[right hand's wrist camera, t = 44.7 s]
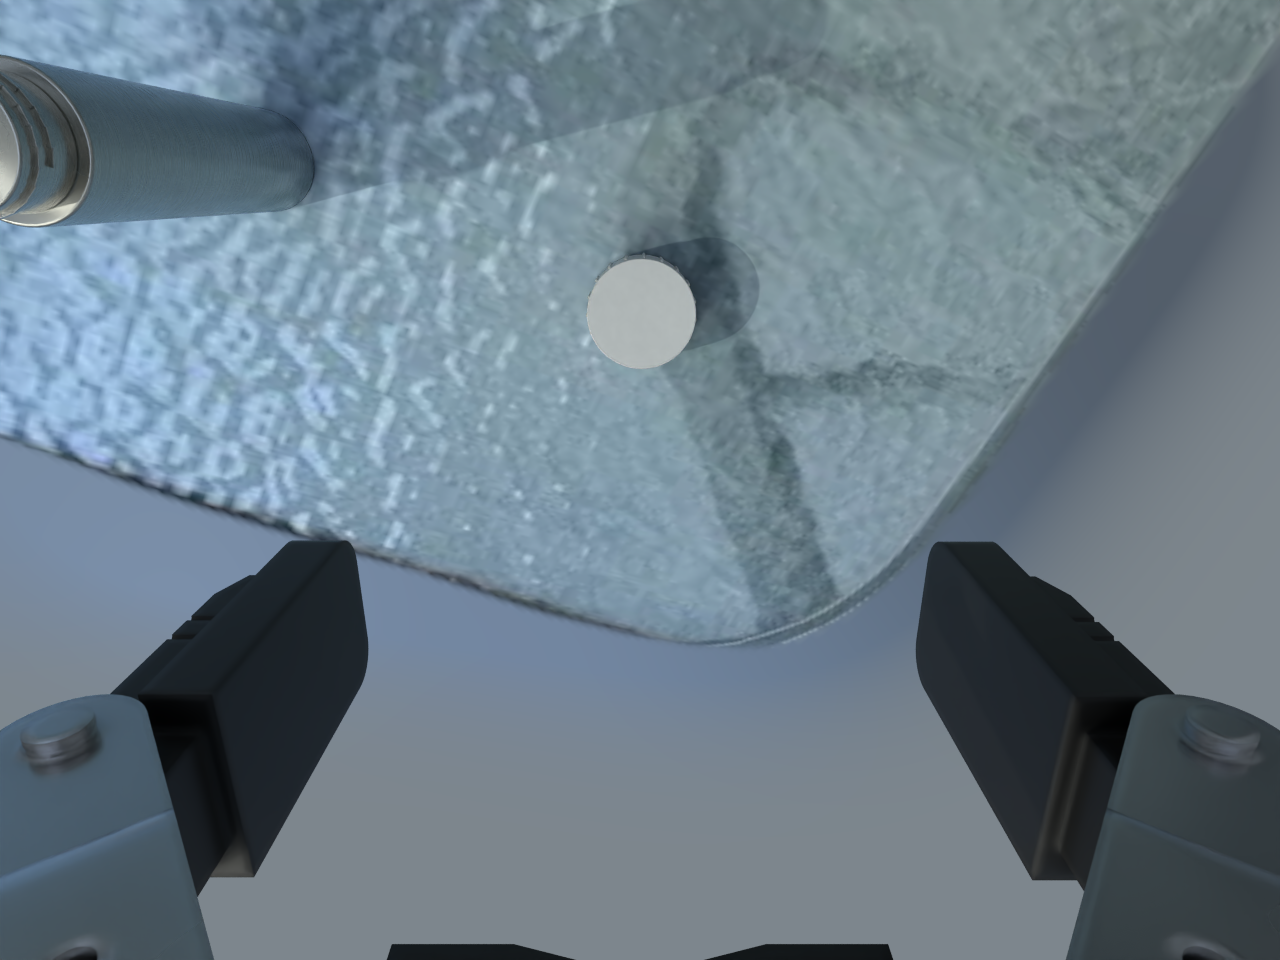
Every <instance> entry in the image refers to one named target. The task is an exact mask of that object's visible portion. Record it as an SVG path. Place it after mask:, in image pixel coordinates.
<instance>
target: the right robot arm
mask: <svg viewBox="0 0 1280 960" xmlns="http://www.w3.org/2000/svg"><path fill="white" fill-rule="evenodd" d="M367 661H368V637H367V629H366V622H365V615H364V609H363V601H362V594H361V587H360V580H359V573H358V566H357V559H356V555H355V551H354V549H353V547H352V545H351V544H350V543H349V542H348V541H290V542H288V543H287V544H286V545H285V546H284V547H283V548H282V549H281V550H280V551H279V552H278V553H277V554H276V555H275V556H274V557H273V558H272V559H271V560H270V561H269V562H268V563H267V564H266V565H265V566H264V567H263V568H262V569H261V570H260V571H259V572H258V573H257V574H256V575H249V576H247V577H245V578H244V579H242V580H240V581H238V582H236V583H234V584H232V585H230V586H229V587H227V588H225V589H223V590H221V591H219V592H217V593H216V594H214V595H213V596H212V597H211V598H210V599H209V600H208V601H207V602H206V603H205V604H204V605H203V606H202V607H201V608H199V609H198V610H197V611H196V612H195V613H194V614H193V615H192V619H191V620H188V621H186V622H185V623H184V624H183V625H182V626H181V627H180V628H179V629H178V630H176V631H175V632H174V633H173V634H172V639H168V640H166V641H165V642H164V643H163V644H162V645H161V646H160V647H159V648H158V649H157V650H156V651H154V652H153V653H152V654H151V655H150V656H149V657H148V658H147V659H146V660H145V661H144V662H143V663H142V664H141V665H140V666H139V667H138V668H137V669H136V670H135V671H134V672H133V673H132V674H130V675H129V676H128V677H127V678H126V679H125V680H124V681H123V682H122V683H121V684H120V685H119V686H118V687H117V688H116V689H115V690H114V691H113V692H112V693H111V694H105V695H92V696H85V697H80V698H75V699H71V700H67V701H63V702H60V703H57V704H54V705H51V706H48V707H45V708H42V709H40V710H38V711H35V712H33V713H31V714H28V715H26V716H24V717H22V718H20V719H19V720H16V721H15V722H13V723H11V724H10V725H8V726H6V727H5V728H3V729H2V730H0V960H214V958H213V954H212V950H211V946H210V943H209V939H208V935H207V931H206V928H205V924H204V920H203V917H202V913H201V909H200V906H199V902H198V898H197V897H198V895H199V894H200V892H201V891H202V889H203V887H204V886H205V884H206V882H207V881H208V879H209V878H210V877H254V876H255V874H256V873H257V871H258V869H259V867H260V866H261V864H262V862H263V860H264V858H265V857H266V855H267V853H268V851H269V849H270V848H271V846H272V844H273V842H274V841H275V839H276V837H277V835H278V833H279V832H280V830H281V828H282V826H283V824H284V823H285V821H286V819H287V817H288V816H289V814H290V812H291V810H292V808H293V807H294V805H295V803H296V801H297V799H298V798H299V796H300V794H301V792H302V790H303V789H304V787H305V785H306V783H307V782H308V780H309V778H310V776H311V774H312V773H313V771H314V769H315V767H316V765H317V764H318V762H319V760H320V758H321V757H322V755H323V753H324V751H325V749H326V747H327V746H328V744H329V742H330V740H331V739H332V737H333V735H334V733H335V731H336V730H337V728H338V726H339V724H340V723H341V721H342V719H343V717H344V715H345V714H346V712H347V710H348V708H349V706H350V705H351V703H352V701H353V699H354V697H355V696H356V694H357V692H358V690H359V689H360V687H361V685H362V682H363V680H364V676H365V673H366V668H367ZM916 662H917V669H918V673H919V677H920V680H921V683H922V686H923V688H924V690H925V691H926V693H927V695H928V697H929V698H930V700H931V702H932V704H933V705H934V707H935V709H936V711H937V712H938V714H939V716H940V718H941V720H942V721H943V723H944V725H945V727H946V728H947V730H948V732H949V734H950V735H951V737H952V739H953V741H954V742H955V744H956V746H957V748H958V750H959V751H960V753H961V755H962V757H963V758H964V760H965V762H966V764H967V765H968V767H969V769H970V771H971V772H972V774H973V776H974V778H975V780H976V781H977V783H978V785H979V787H980V788H981V790H982V792H983V794H984V795H985V797H986V799H987V801H988V803H989V804H990V806H991V808H992V810H993V811H994V813H995V815H996V817H997V818H998V820H999V822H1000V824H1001V825H1002V827H1003V829H1004V831H1005V833H1006V834H1007V836H1008V838H1009V840H1010V841H1011V843H1012V845H1013V847H1014V848H1015V850H1016V852H1017V854H1018V856H1019V857H1020V859H1021V861H1022V863H1023V864H1024V866H1025V868H1026V870H1027V871H1028V873H1029V875H1030V877H1031V879H1032V880H1077V881H1078V882H1079V884H1080V886H1081V887H1082V889H1083V890H1084V894H1083V898H1082V902H1081V905H1080V909H1079V913H1078V917H1077V920H1076V924H1075V928H1074V932H1073V935H1072V939H1071V943H1070V946H1069V950H1068V954H1067V957H1066V960H1280V730H1278V729H1277V728H1275V727H1274V726H1272V725H1270V724H1268V723H1267V722H1265V721H1264V720H1262V719H1260V718H1258V717H1256V716H1254V715H1251V714H1249V713H1247V712H1245V711H1242V710H1240V709H1238V708H1235V707H1232V706H1229V705H1226V704H1223V703H1220V702H1217V701H1213V700H1209V699H1205V698H1200V697H1195V696H1188V695H1176V694H1174V693H1173V692H1172V691H1171V690H1170V689H1169V688H1168V687H1167V686H1166V685H1165V684H1164V683H1163V682H1162V681H1161V680H1159V679H1158V678H1157V677H1156V676H1155V675H1154V674H1153V673H1152V672H1151V671H1150V670H1149V669H1148V668H1147V667H1146V666H1145V665H1144V664H1143V663H1142V662H1140V661H1139V660H1138V659H1137V658H1136V657H1135V656H1134V655H1133V654H1132V653H1131V652H1130V651H1129V650H1128V649H1127V648H1126V647H1125V646H1124V645H1122V644H1121V643H1120V642H1119V641H1114V636H1113V635H1112V634H1111V633H1110V632H1109V631H1108V630H1107V629H1106V628H1105V627H1104V626H1102V625H1101V624H1100V623H1099V622H1094V617H1093V616H1092V615H1091V614H1090V613H1089V612H1088V611H1087V610H1086V609H1085V608H1083V607H1082V606H1081V605H1080V604H1079V603H1078V602H1077V601H1076V600H1075V599H1074V598H1073V597H1072V596H1071V595H1069V594H1067V593H1065V592H1063V591H1062V590H1060V589H1058V588H1056V587H1054V586H1052V585H1050V584H1048V583H1047V582H1045V581H1043V580H1041V579H1039V578H1037V577H1030V576H1029V575H1028V574H1027V573H1026V572H1025V571H1024V570H1023V569H1022V568H1021V567H1020V566H1019V565H1018V564H1017V563H1016V562H1015V561H1014V560H1013V559H1012V558H1011V557H1010V556H1009V555H1008V554H1007V553H1006V552H1005V551H1004V550H1003V549H1002V548H1001V547H1000V546H999V545H998V544H996V543H994V542H937V543H935V544H934V545H933V547H932V549H931V551H930V554H929V557H928V563H927V570H926V577H925V584H924V591H923V597H922V605H921V612H920V618H919V626H918V632H917V640H916ZM387 960H574V959H570V958H566V957H562V956H558V955H554V954H550V953H546V952H542V951H539V950H534V949H531V948H527V947H523V946H519V945H515V944H392V946H391V949H390V952H389V955H388V958H387ZM706 960H893V958H892V955H891V952H890V949H889V946H888V944H765V945H761V946H757V947H754V948H749V949H746V950H742V951H738V952H734V953H730V954H726V955H722V956H718V957H714V958H710V959H706Z"/></svg>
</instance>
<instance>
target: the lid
mask: <svg viewBox="0 0 1280 960" xmlns="http://www.w3.org/2000/svg"><path fill="white" fill-rule="evenodd" d="M595 282H596V284H595V286H594V288H593V290H592V292H590V294H589V296H588V299H589V301H588V307H587V314H586V317H587V320H588V326H589V330H590V334H591V336H592V338H593V340H594V342H595V343H596V345H597V346H598V348H599V349H600V350H601V351H602V352H603V353H604V354H605V355H606V356H607V357H608V358H610V359H611V360H613V361H614V362H616V363H618V364H620V365H623V366H626V367H630V368H636V369H648V368H653V367H657V366H660V365H663V364H665V363H667V362H669V361H670V360H672V359H673V358H675V357H676V356H677V355H678V354H679V353H680V352H681V351H682V350H683V349H684V348H685V346H686V345H687V343H688V342H689V340H690V339H691V336H692V333H693V331H694V327H695V322H696V321H697V319H696V306H695V303H696V300H695V298H694V296H693V294H692V292H691V289H690V287H689V286H690V283H689V281H688V279H687V280H685V278H684V276H683V275H682V274H681V273H680V271H679V269H678V267H677V266H675V267H674V266H673V265H672V264H670V263H669V262H667V261H665V260H663V258H662V257H661V256H660V258H658V257H656V256H651V255H645V253H643V255H632V256H627V255H625V258H622V259H620V260H618V261H616V262H614V263H613V264H611V263H610V264H609V266H608V268H607V269H605V270H604V272H603V273H602V274H601V275H600V276H597V278H596V280H595Z"/></svg>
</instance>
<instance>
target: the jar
mask: <svg viewBox="0 0 1280 960" xmlns="http://www.w3.org/2000/svg"><path fill="white" fill-rule="evenodd" d="M313 173H314V164H313V157H312V153H311V150H310V147H309V145H308V143H307V141H306V139H305V137H304V136H303V134H302V133H301V131H300V130H299V129H298V128H297V127H296V126H295V125H294V124H293V123H292V122H291V121H290V120H288V119H287V118H286V117H284V116H282V115H280V114H278V113H276V112H274V111H270V110H266V109H262V108H257V107H252V106H247V105H242V104H237V103H233V102H228V101H223V100H218V99H213V98H209V97H204V96H199V95H194V94H189V93H184V92H180V91H175V90H170V89H165V88H160V87H156V86H151V85H146V84H141V83H136V82H131V81H127V80H122V79H117V78H112V77H107V76H102V75H98V74H93V73H88V72H83V71H78V70H74V69H69V68H64V67H59V66H54V65H49V64H45V63H40V62H35V61H30V60H25V59H21V58H16V57H11V56H6V55H0V220H2V221H4V222H7V223H10V224H13V225H17V226H23V227H54V226H69V225H83V224H98V223H113V222H128V221H143V220H158V219H172V218H187V217H202V216H217V215H232V214H247V213H261V212H276V211H283V210H286V209H289V208H291V207H293V206H295V205H296V204H298V203H299V202H300V201H301V200H302V199H303V198H304V197H305V196H306V194H307V192H308V191H309V189H310V186H311V184H312V180H313Z"/></svg>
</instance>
